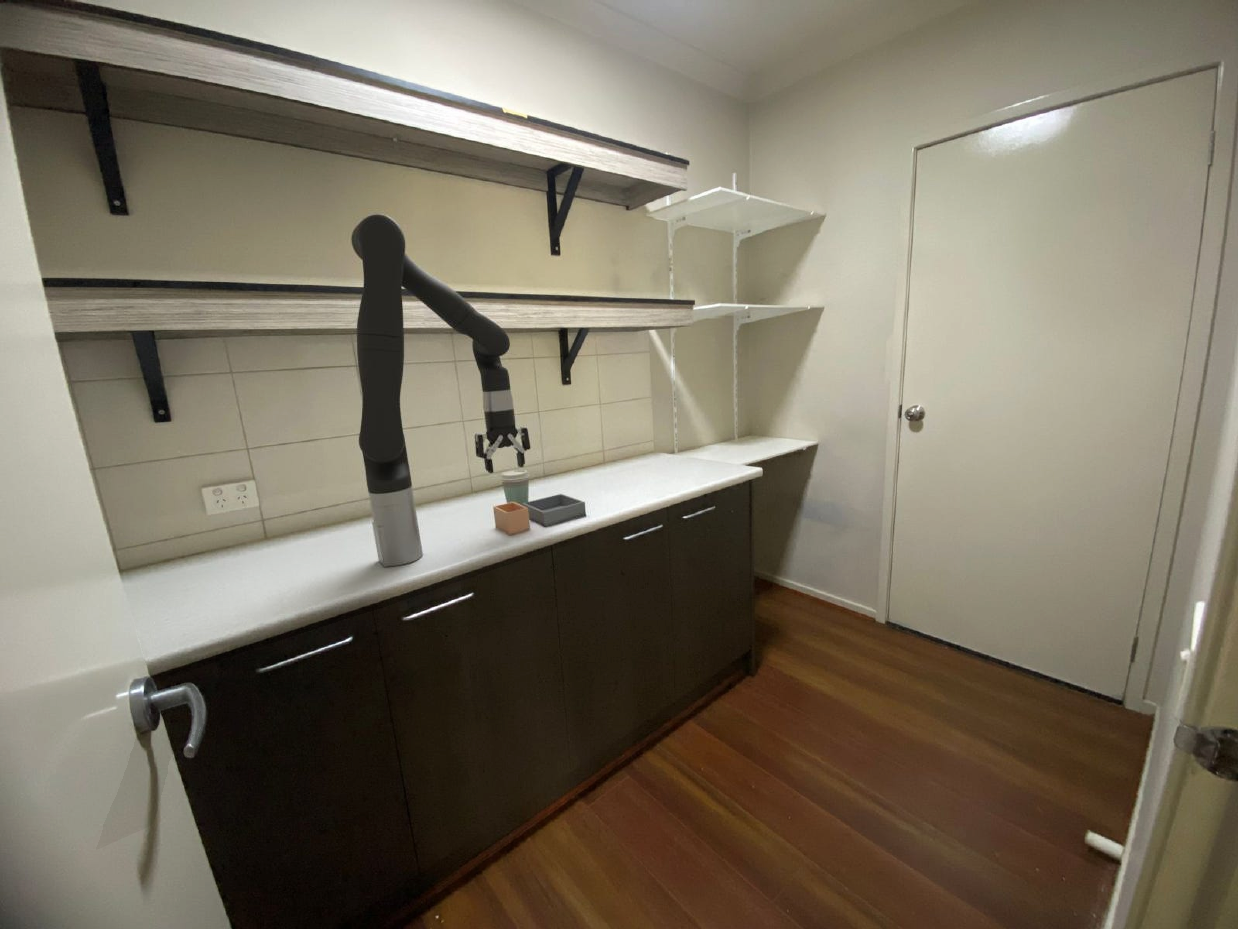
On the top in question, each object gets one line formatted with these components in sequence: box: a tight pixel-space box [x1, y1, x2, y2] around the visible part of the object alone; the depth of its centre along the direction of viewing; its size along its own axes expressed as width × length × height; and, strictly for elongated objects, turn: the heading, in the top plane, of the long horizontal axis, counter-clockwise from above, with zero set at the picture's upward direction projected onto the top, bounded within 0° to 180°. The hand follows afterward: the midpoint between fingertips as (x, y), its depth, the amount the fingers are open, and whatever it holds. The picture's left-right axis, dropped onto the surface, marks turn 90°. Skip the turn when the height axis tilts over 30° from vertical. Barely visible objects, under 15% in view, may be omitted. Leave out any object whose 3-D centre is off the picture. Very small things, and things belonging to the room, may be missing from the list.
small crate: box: [492, 502, 531, 536], centre depth 132 cm, size 6×9×6 cm, turn 37°
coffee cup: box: [500, 469, 530, 505], centre depth 147 cm, size 8×8×12 cm
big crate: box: [522, 493, 587, 528], centre depth 141 cm, size 13×13×4 cm
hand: (506, 469), depth 129 cm, fingers open, 8 cm apart
